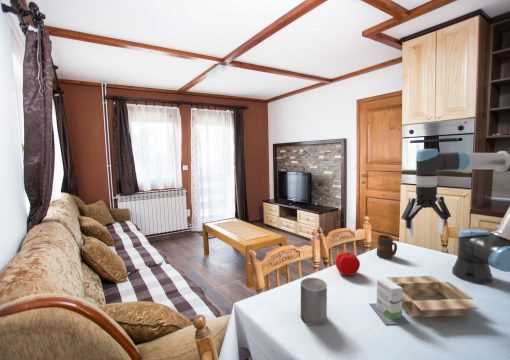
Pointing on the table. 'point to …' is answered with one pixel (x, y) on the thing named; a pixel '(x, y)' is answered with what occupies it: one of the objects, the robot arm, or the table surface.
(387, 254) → the mug
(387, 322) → the mat
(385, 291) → the ink box
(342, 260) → the tomato
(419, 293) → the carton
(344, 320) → the table surface
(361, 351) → the table surface
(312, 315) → the pillar candle
